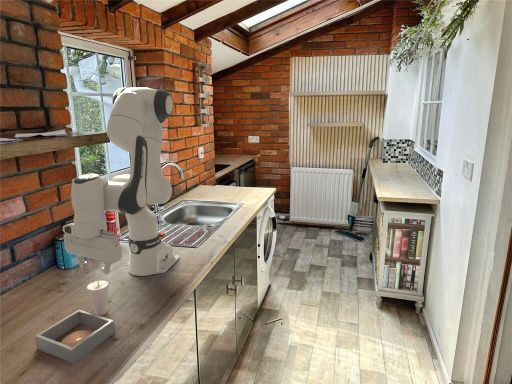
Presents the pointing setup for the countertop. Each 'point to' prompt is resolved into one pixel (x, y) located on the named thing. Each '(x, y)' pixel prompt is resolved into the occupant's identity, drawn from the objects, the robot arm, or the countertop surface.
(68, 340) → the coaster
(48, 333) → the grey open tray
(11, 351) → the countertop surface
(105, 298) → the smoothie
